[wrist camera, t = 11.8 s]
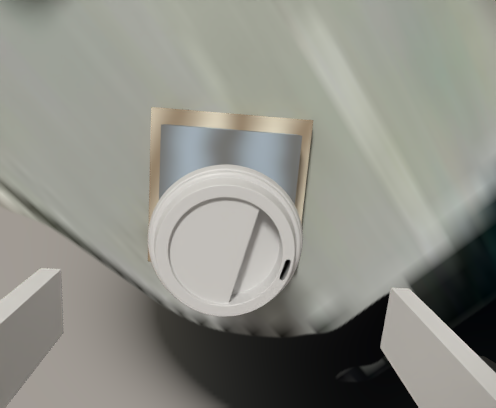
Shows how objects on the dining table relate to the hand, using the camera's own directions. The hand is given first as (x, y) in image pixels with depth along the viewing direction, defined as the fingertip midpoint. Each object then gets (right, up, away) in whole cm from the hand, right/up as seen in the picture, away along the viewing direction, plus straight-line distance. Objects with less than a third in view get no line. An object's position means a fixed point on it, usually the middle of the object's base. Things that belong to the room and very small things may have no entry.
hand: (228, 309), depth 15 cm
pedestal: (-1, +6, +25) cm, 26 cm away
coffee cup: (-1, +5, +21) cm, 22 cm away
